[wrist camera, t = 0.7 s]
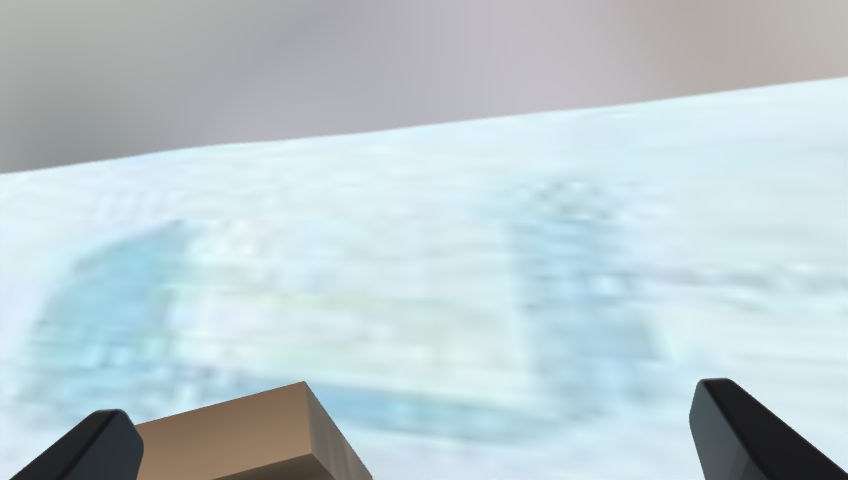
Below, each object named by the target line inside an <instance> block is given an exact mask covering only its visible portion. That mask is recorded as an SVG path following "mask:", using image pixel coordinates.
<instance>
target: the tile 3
mask: <svg viewBox="0 0 848 480" xmlns="http://www.w3.org/2000/svg"><path fill="white" fill-rule="evenodd" d="M134 426H135V427H136V429H137V430H138V432H139V434H140V435H141V437H142V439H143V442H144V454H143V458H142V461H141V465H140V469H139V472H138V476H137V479H136V480H372V476H371V474H370V473H369V471H368V470H367V468H366V467H365V466H364V464H363V463H362V461H361V460H360V459H359V457H358V456H357V454H356V453H355V452H354V450H353V449H352V447H351V446H350V444H349V443H348V442H347V440H346V439H345V437H344V436H343V435H342V433H341V432H340V430H339V429H338V428H337V426H336V425H335V423H334V422H333V421H332V419H331V418H330V416H329V415H328V413H327V412H326V411H325V409H324V408H323V406H322V405H321V404H320V402H319V401H318V399H317V398H316V397H315V395H314V394H313V392H312V391H311V389H310V388H309V387H308V385H307V384H306V382H305V381H303V382H299V383H295V384H291V385H287V386H284V387H280V388H276V389H272V390H268V391H264V392H261V393H257V394H253V395H249V396H245V397H241V398H238V399H234V400H230V401H226V402H222V403H218V404H215V405H211V406H207V407H203V408H199V409H195V410H192V411H188V412H184V413H180V414H176V415H172V416H169V417H165V418H161V419H157V420H153V421H149V422H146V423H142V424H138V425H134Z"/></svg>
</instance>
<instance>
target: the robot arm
mask: <svg viewBox="0 0 848 480" xmlns="http://www.w3.org/2000/svg"><path fill="white" fill-rule="evenodd" d="M689 423H690V429H691V432H692V436H693V439H694V443H695V446H696V449H697V453H698V456H699V460H700V463H701V466H702V470H703V473H704V477H705V480H848V473H846V472H845V471H844V470H843V469H842V468H840V467H839V466H838V465H837V464H835V463H834V462H833V461H832V460H830V459H829V458H828V457H827V456H825V455H824V454H823V453H822V452H820V451H819V450H818V449H817V448H816V447H814V446H813V445H812V444H811V443H809V442H808V441H807V440H806V439H804V438H803V437H802V436H801V435H799V434H798V433H797V432H796V431H795V430H793V429H792V428H791V427H790V426H788V425H787V424H786V423H785V422H783V421H782V420H781V419H780V418H778V417H777V416H776V415H775V414H774V413H772V412H771V411H770V410H769V409H767V408H766V407H765V406H764V405H762V404H761V403H760V402H759V401H757V400H756V399H755V398H754V397H752V396H751V395H750V394H749V393H748V392H746V391H745V390H744V389H743V388H741V387H740V386H739V385H738V384H736V383H735V382H734V381H732V380H730V379H728V378H709V379H701V380H700V381H699V382H698V383H697V386H696V390H695V394H694V398H693V402H692V406H691V409H690V414H689ZM143 454H144V442H143V439H142V437H141V435H140V434H139V432H138V430H137V429H136V427H135V426H134V424H133V423H132V421H131V420H130V418H129V416H128V415H127V413H126V412H125V411H123V410H121V409H107V410H98V411H95V412H93V413H92V414H90V415H89V416H88V417H86V418H85V419H84V420H83V421H81V422H80V423H79V424H78V425H76V426H75V427H74V428H73V429H71V430H70V431H69V432H68V433H66V434H65V435H64V436H63V437H62V438H60V439H59V440H58V441H57V442H55V443H54V444H53V445H52V446H50V447H49V448H48V449H47V450H45V451H44V452H43V453H42V454H40V455H39V456H38V457H37V458H36V459H34V460H33V461H32V462H31V463H29V464H28V465H27V466H26V467H24V468H23V469H22V470H21V471H19V472H18V473H17V474H16V475H15V476H13V477H12V478H11V479H10V480H136V479H137V476H138V472H139V469H140V465H141V461H142V458H143Z"/></svg>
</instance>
